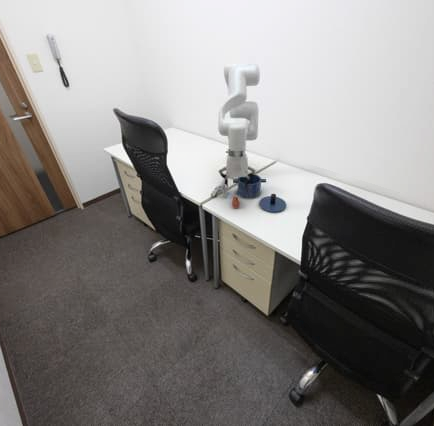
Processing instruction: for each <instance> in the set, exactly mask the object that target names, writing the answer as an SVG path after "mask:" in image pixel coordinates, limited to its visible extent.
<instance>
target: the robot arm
mask: <svg viewBox="0 0 434 426" xmlns="http://www.w3.org/2000/svg"><path fill="white" fill-rule="evenodd" d="M223 76H224V80H225V81H224V82H225V84H226V86H227V89H228V92H227V93H228V95H227V96H228V97H227V98H226V99H225V100H224V101H223V103H221V106H220V108H219V111H218V119H217V120H218V125H217V126H218V128H217V129H218V133H219V134H220V136H223V137H227V142H228V143H227V144H228V149H225V153H226V154H227V155H226V162H225V163H226V164H225V166H224V167H222V168H220V169H218V173H219V175H220V176H221V178H222V179H224V180H225V186H226V188H228V187H229V178H230V179H238V177H246V187H248V184H249V179H250V178H251V177H252V176H253V174H255V173H256V169H255V168H254V167H252V166H250V165H249V159H248V155H247V152H246V149H247V148H246V147H247V142H248V141H255V140H257V139H258V133H259V105H258V102H255V101H247V99H248V94H247V90H248V89H247V87H256V86H258V85H259V83H260V78H261V71H260V67H259V65H258V63H257V62H232V63H227V64H226V65H225V66H224V68H223ZM227 113H229V117H227V118H226V114H227ZM249 171H250V172H249ZM224 172H225V173H224Z"/></svg>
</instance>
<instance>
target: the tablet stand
mask: <svg viewBox="0 0 434 426" xmlns="http://www.w3.org/2000/svg"><path fill="white" fill-rule="evenodd" d="M220 190H221V191H222V194H223V196H224V197H225V198H226V197H227V195H228V194H229V191H228V189H227V187H226V185H225V180H224V178H222V180H221V182H220V183H219V184H218V185H216V187H215V188H214V190H213V191H212V192H211V193H210V196H211V197H212V198H215V196H216V195H217V193H218V192H219V191H220Z"/></svg>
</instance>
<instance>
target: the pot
mask: <svg viewBox="0 0 434 426" xmlns="http://www.w3.org/2000/svg"><path fill="white" fill-rule="evenodd" d="M262 183H267V179H266V178H261V176H259V175H258V174H255V173H254V174H253V176H252V177H251V178H250V179H249V184H248V187H246V177H238V179H234V178H232V184H237V195H238V196H239V197H240V198H243V199H255V198H257V197H259V196H260V195H261V187H262Z"/></svg>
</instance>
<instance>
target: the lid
mask: <svg viewBox="0 0 434 426" xmlns="http://www.w3.org/2000/svg"><path fill="white" fill-rule="evenodd" d="M258 204H259V207H260V208H261V209H262V210H264V211H265V212H266V211H267V212H270V213H279V212H282V211H284V210H285V209H286V207H287V203H286V201H285V199H283V198H281V197H279V196H277V194H276V193H270V195H269V196H264V197H262V198H260V200H259V203H258Z"/></svg>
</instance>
